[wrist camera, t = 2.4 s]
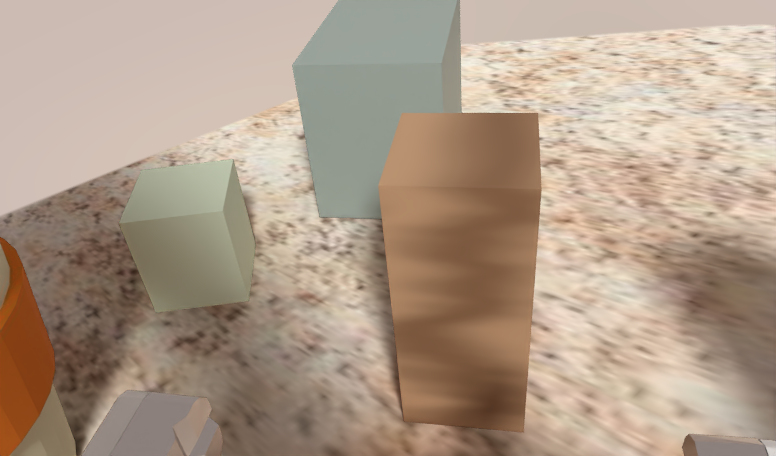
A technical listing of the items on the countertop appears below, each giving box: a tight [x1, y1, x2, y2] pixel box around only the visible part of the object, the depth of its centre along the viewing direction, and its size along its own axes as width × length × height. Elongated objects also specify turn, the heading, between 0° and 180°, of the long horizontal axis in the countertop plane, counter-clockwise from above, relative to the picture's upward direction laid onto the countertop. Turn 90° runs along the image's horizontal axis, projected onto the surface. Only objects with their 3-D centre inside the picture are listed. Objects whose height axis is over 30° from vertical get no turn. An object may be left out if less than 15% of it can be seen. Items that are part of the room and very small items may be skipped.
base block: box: [292, 0, 462, 219], centre depth 41 cm, size 8×12×10 cm, turn 170°
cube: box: [119, 159, 256, 313], centre depth 34 cm, size 5×5×6 cm
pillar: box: [378, 113, 541, 432], centre depth 25 cm, size 5×5×12 cm
